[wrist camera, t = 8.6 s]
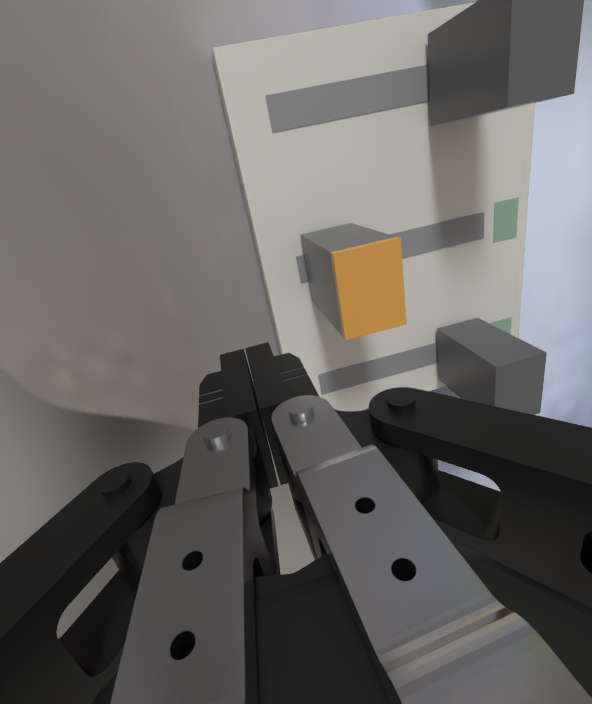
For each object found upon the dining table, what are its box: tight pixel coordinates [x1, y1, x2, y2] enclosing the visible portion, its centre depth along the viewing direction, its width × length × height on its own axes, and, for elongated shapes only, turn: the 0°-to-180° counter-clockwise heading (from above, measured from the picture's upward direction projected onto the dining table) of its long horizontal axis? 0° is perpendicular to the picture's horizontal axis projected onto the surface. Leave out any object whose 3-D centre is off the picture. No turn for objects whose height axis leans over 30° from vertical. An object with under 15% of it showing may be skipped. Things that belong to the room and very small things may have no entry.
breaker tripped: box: [300, 223, 407, 340], centre depth 20 cm, size 3×4×6 cm
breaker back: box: [437, 318, 546, 415], centre depth 24 cm, size 3×4×6 cm
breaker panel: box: [212, 2, 535, 411], centre depth 24 cm, size 17×22×2 cm
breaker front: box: [428, 0, 584, 126], centre depth 18 cm, size 3×4×6 cm
